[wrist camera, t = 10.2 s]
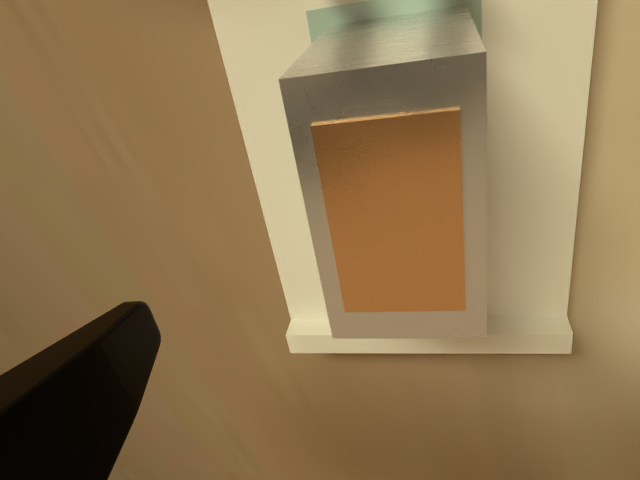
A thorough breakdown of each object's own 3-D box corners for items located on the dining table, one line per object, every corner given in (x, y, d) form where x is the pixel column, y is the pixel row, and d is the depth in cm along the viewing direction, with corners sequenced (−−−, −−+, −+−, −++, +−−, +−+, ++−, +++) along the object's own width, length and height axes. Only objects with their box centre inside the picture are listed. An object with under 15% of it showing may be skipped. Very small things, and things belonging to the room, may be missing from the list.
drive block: (466, 4, 14) (487, 52, 9) (470, 220, 18) (487, 341, 13) (327, 26, 15) (276, 80, 10) (358, 226, 19) (331, 340, 14)
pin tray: (613, -291, 11) (677, -364, 8) (559, 318, 20) (581, 384, 18) (177, -170, 14) (112, -193, 11) (300, 321, 23) (282, 379, 20)
